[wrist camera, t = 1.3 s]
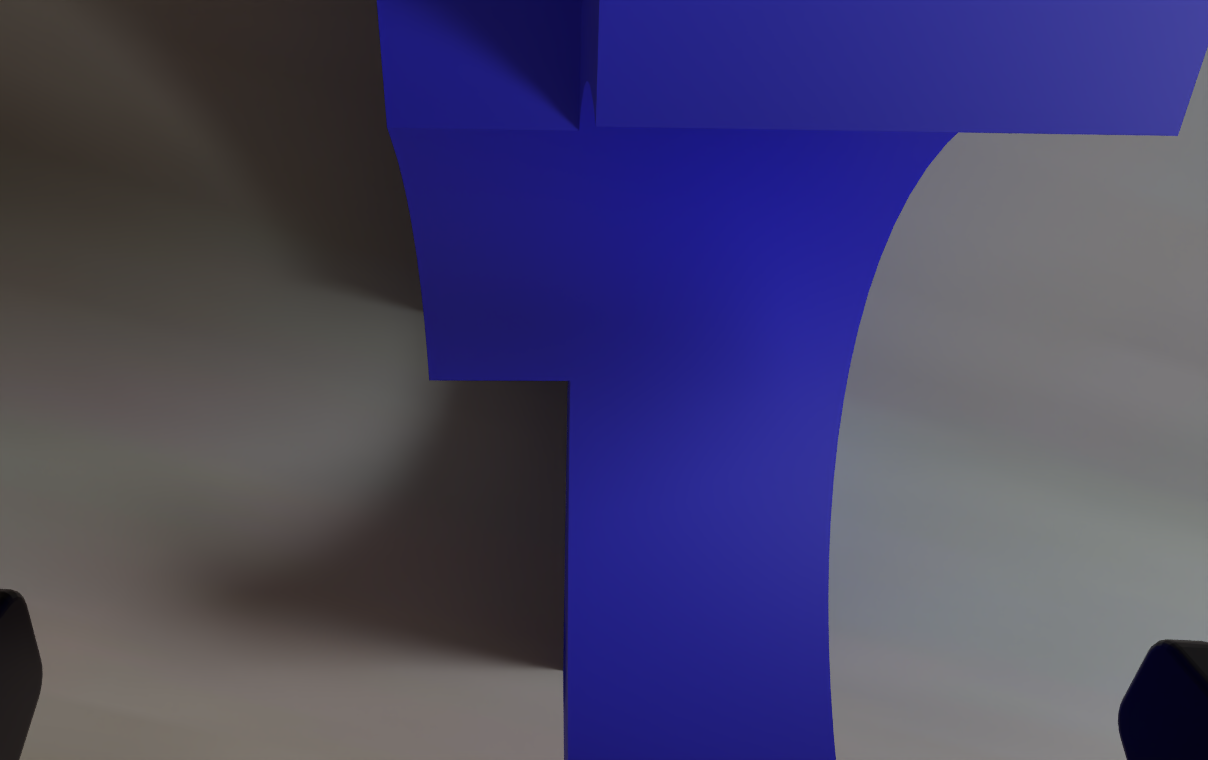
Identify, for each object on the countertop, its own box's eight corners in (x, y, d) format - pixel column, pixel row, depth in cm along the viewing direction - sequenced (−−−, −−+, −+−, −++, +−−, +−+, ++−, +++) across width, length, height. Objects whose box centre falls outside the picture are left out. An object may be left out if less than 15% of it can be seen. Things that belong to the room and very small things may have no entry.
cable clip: (406, -286, 10) (247, -226, 5) (911, -269, 10) (1285, -191, 5) (461, 662, 16) (421, 1112, 11) (763, 660, 16) (854, 1099, 11)
